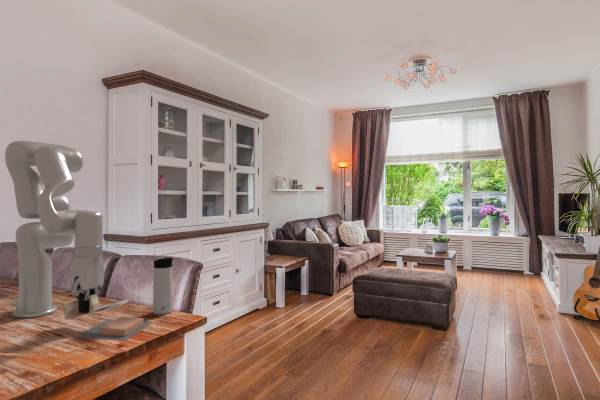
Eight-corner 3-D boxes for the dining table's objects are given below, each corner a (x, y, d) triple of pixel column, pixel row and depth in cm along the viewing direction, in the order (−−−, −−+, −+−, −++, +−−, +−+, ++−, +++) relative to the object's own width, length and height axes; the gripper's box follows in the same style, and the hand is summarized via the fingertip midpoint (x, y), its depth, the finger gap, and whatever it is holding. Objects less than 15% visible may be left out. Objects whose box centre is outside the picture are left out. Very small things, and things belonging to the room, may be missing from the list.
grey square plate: (73, 339, 108) (73, 337, 108) (108, 321, 124) (108, 319, 124) (125, 342, 106) (125, 340, 106) (153, 323, 122) (153, 321, 122)
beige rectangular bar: (63, 320, 115) (58, 304, 115) (74, 315, 120) (70, 300, 120) (119, 306, 112) (114, 289, 112) (128, 301, 117) (124, 286, 117)
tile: (99, 327, 110) (125, 329, 109) (119, 316, 120) (143, 318, 119) (99, 334, 110) (125, 336, 110) (119, 323, 120) (143, 324, 119)
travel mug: (166, 317, 129) (167, 259, 128) (149, 316, 130) (149, 258, 130) (176, 312, 135) (176, 256, 135) (159, 310, 136) (160, 255, 136)
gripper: (94, 247, 125) (94, 303, 125) (57, 255, 108) (56, 318, 109) (116, 248, 124) (115, 304, 124) (81, 256, 108) (80, 320, 108)
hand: (88, 310), depth 116 cm, fingers closed on beige rectangular bar, 3 cm apart
